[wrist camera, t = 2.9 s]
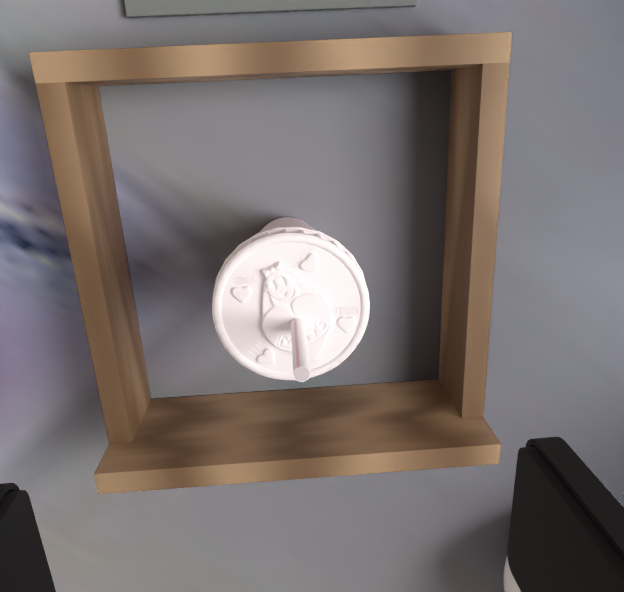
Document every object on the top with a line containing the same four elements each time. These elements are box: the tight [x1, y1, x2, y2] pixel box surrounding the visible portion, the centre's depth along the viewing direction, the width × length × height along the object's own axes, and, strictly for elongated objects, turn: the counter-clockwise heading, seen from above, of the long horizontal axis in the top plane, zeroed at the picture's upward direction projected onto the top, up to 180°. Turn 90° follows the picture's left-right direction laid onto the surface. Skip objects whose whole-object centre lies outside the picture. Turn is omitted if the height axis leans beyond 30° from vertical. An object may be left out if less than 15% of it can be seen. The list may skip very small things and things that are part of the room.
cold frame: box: [29, 32, 512, 494], centre depth 27 cm, size 20×20×7 cm
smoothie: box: [212, 217, 370, 382], centre depth 23 cm, size 6×6×14 cm
